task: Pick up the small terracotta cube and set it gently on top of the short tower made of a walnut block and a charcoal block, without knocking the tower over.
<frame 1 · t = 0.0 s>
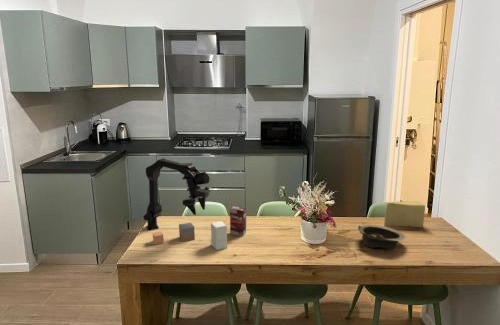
hand: (199, 212, 216), 15 cm above the table, tool pointing down, fingers open, 9 cm apart
terracotta cube: (158, 242, 214), on the table
small box: (219, 246, 209), on the table
cheese: (402, 225, 237), on the table
tower base: (187, 238, 219), on the table, touching tower top
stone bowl: (380, 244, 211), on the table
supplement box: (238, 234, 225), on the table
tower top: (186, 232, 218), point 4 cm above the table, touching tower base
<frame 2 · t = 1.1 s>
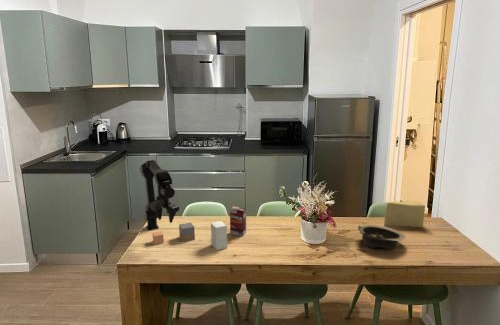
hand: (165, 221, 211), 13 cm above the table, tool pointing down, fingers open, 9 cm apart
nothing on the table moved.
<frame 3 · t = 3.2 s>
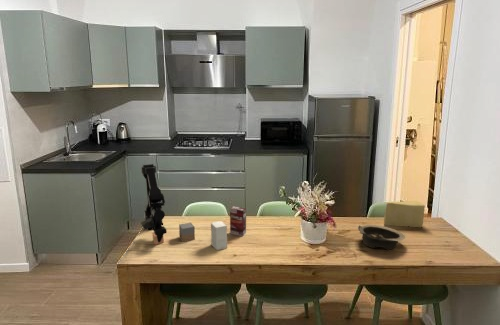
hand: (158, 240, 214), 1 cm above the table, tool pointing down, fingers closed on terracotta cube, 5 cm apart
terracotta cube: (158, 241, 214), on the table, touching gripper
everything else where it was.
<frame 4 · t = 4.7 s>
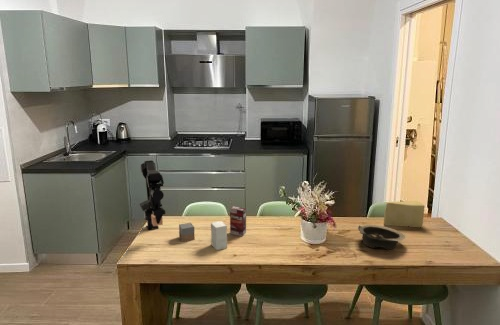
hand: (157, 222, 212), 12 cm above the table, tool pointing down, fingers closed on terracotta cube, 5 cm apart
terracotta cube: (157, 223, 212), point 11 cm above the table, touching gripper
everything else where it was.
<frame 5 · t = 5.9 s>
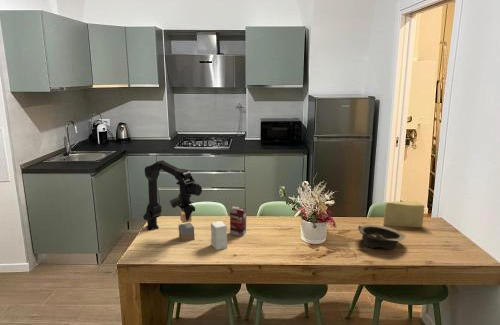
hand: (186, 218, 216), 12 cm above the table, tool pointing down, fingers closed on terracotta cube, 5 cm apart
terracotta cube: (186, 220, 217), point 11 cm above the table, touching gripper
everything else where it was.
when the fingers open (10 cm above the table, at t = 6.9 s): terracotta cube drops 2 cm, resting on tower top.
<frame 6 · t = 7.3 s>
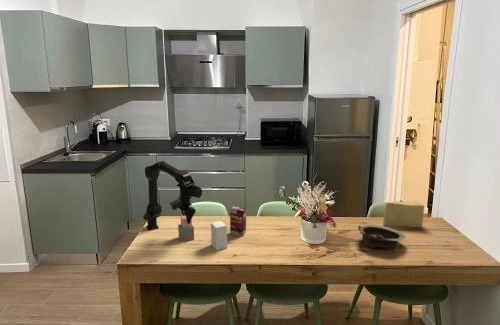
hand: (186, 220, 217), 10 cm above the table, tool pointing down, fingers open, 9 cm apart
terracotta cube: (186, 225, 218), point 8 cm above the table, touching tower top
tower top: (186, 232, 218), point 4 cm above the table, touching terracotta cube, tower base
everything else where it was.
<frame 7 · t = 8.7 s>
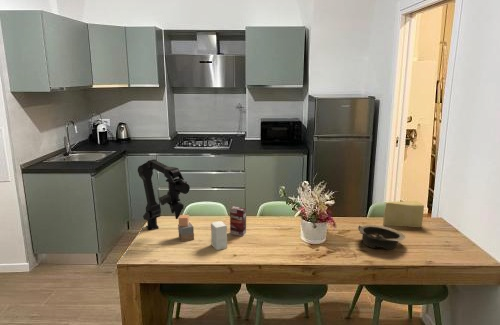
hand: (174, 216, 219), 13 cm above the table, tool pointing down, fingers open, 9 cm apart
terracotta cube: (184, 224, 218), point 8 cm above the table, touching tower top
everything else where it was.
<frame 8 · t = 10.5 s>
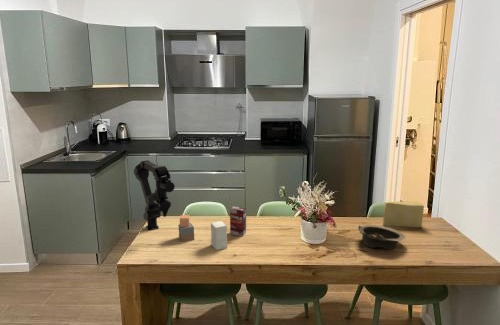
hand: (162, 214, 220), 13 cm above the table, tool pointing down, fingers open, 9 cm apart
terracotta cube: (184, 224, 218), point 8 cm above the table
tower top: (186, 232, 218), point 4 cm above the table, touching tower base
everything else where it was.
at the end: terracotta cube 1.2 cm off-centre on the tower top, point 4.0 cm above the tower top's base; tower top 0.1 cm off-centre on the tower base, point 4.0 cm above the tower base's base; terracotta cube tilted 0° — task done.
